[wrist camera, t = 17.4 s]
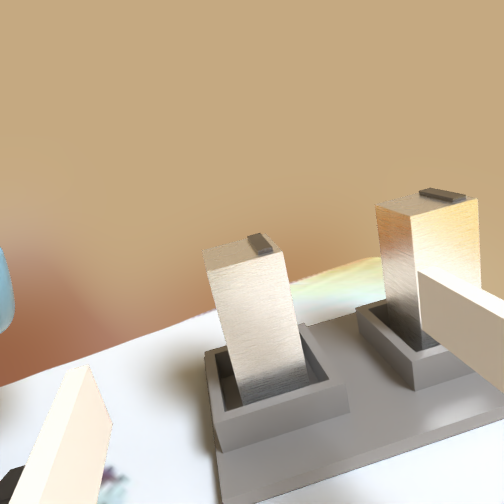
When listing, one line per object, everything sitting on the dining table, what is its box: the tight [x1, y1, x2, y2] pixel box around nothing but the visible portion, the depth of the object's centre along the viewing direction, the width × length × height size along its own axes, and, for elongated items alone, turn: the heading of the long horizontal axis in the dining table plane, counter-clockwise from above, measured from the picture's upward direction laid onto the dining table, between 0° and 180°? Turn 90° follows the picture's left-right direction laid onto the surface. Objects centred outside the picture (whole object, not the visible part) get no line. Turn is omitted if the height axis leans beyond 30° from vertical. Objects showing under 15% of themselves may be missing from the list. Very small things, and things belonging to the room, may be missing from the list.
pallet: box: [204, 299, 504, 504], centre depth 32 cm, size 24×16×4 cm, turn 101°
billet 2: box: [375, 188, 481, 352], centre depth 31 cm, size 5×5×12 cm
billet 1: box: [202, 233, 310, 406], centre depth 29 cm, size 5×5×12 cm
